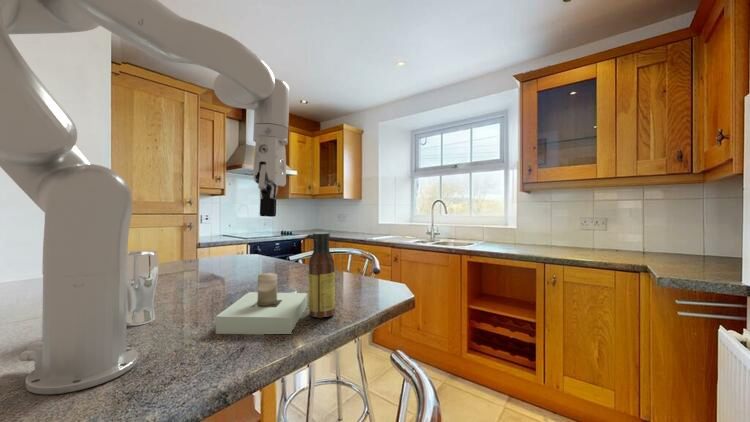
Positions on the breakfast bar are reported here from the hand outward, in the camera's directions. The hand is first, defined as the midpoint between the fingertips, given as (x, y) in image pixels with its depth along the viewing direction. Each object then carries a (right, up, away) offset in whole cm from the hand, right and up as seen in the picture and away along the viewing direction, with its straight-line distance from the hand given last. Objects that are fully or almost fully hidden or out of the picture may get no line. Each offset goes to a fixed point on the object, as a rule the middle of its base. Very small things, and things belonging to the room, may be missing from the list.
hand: (267, 216), depth 73 cm
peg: (0, -24, +1) cm, 24 cm away
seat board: (0, -24, +1) cm, 24 cm away
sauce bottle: (+12, -24, +4) cm, 27 cm away
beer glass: (-27, -23, -3) cm, 36 cm away
